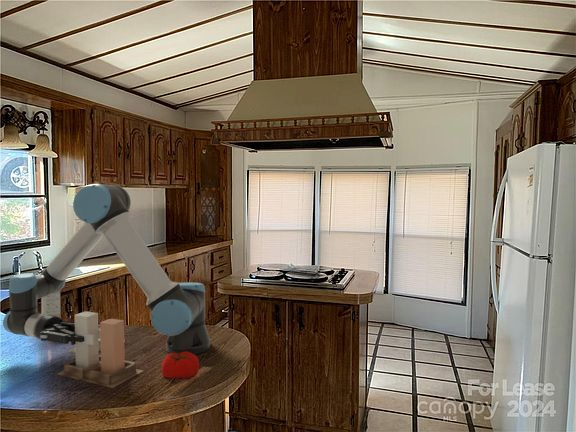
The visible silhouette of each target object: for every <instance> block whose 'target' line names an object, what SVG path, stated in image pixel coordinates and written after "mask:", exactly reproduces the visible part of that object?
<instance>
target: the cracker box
mask: <svg viewBox="0 0 576 432" xmlns="http://www.w3.org/2000/svg"><path fill="white" fill-rule="evenodd" d="M40 300H41V302H40V303H41V314H47V315H52V316H57V317H60V318H61V319H62V317H61V316H62V315H61V290H59V291H58V292H56V293H53V294H50V295H47V296H44V297H42V298H40Z"/></svg>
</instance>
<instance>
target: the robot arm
mask: <svg viewBox="0 0 576 432" xmlns="http://www.w3.org/2000/svg"><path fill="white" fill-rule="evenodd" d="M72 204H73V205H72V206H73V207H72V208H73V211H74V214H75V215H76V216H77V218H78V219H79V220H81V221H82V222H84V223H83V224H82V225H81V227H80V228H78V230H77V231H76V233H75V234H74V235H73V236H72V237H71V238H70V240H69V241H68V242H67V243H66V244H65V245H64V246H63V248H62V249H61V250H60V251H59V252H58V253H57V255H56V256H55V257H54V258H53V259H52V261H51V262H50V263H49V264H48V265H47V267H45V269H44V270H43V271H42V273H41V274H39V275H36V274H34V273H19V274H15V275H12V276H10V278H9V286H8V294H9V311H8V312H7V313H6V314H5V316H4V318H3V320H2V326H3V328H4V330H5V331H7V332H9V333H12V334H14V335H16V336H17V335H19V336H24V337H31V338H35V339H37V340H40V341H41V342H51V343H57V344H62V345H63V344H64V345H68V344H69V343H71V346H75V344H76V342H80V343H85V344H90V345H95V335H91V334H86V333H81V332H78V333H76V335H75V322H68V321H63V319H62V317H61V318H60V317H57V316H52V315H47V314H42V312H41V313H40V312H38V300H39V299H40V300H41V298H42V297H44V296H47V295H50V294H53V293H56V292H58V291H59V290H60V291H61V290H62V289H63V288H64V287H65V285H66V281H67V279H68V278H69V277H70V275H71V274H72V273H73V272H74V271H75V269H77V267H78V266H79V265H80V264H81V263H82V262H83V261H84V259H85V257H87V256H88V254H90V252H91V251H92V250H93V249H94V247H95V246H96V245H97V244H98V243H99V242H100V241H101V239H103V237H105V238H106V240H107V241H108V242H109V244H110V245H111V247H112V248H113V250H114V252H115V253H116V254H117V256H118V257H119V258H120V260H121V261H122V262H123V264H124V265H125V267H126V269H127V270H128V271H129V273H130V275H132V276H131V277H133V279H134V281H136V283H137V285H138V286H139V287H140V289H141V290H142V291H143V293H144V294H145V297H146V298H147V299H146V304H145V305H146V307H147V308H148V310H149V311H150V312H151V314H150V320H151V324H152V326H153V328H154V330H155V331H157V332H158V333H159V334H161V335H164V336H167V339H166V342H165V343H166V344H165V345H166V347H165V349H166V352H167V353H169V354H171V353H178V354H179V353H182V352H185V351H187V352H190V353H192V354H194V355H198V354H201V353H204V352H206V351H208V350H209V349H210V348H211V339H210V335H209V332H208V329H207V327H206V288H205V284H203V283H201V282H176V281H172V280H171V279H170V277H169V276H168V275H167V273H166V272H165V271H164V269H163V267H162V266H161V265H160V262H159V261H158V260H157V259H156V258H155V255H154V254H153V253H152V252H151V250H150V249H149V247H148V246H147V244H146V243H145V241H144V240H143V238H142V237H141V236H140V235H139V233H138V231H137V230H136V229H135V226H133V224H132V223H131V222H130V216H131V213H130V209H131V196H130V194H129V193H128V192H127V190H126V189H124V188H123V187H122V186H119V184H118V185H116V184H101V183H93V184H88V185H85V186H83V187H81V188H79V190H78V191H77V192H76V194H75V195H74V198H73V203H72ZM98 336H99V339H101V338H100V328H98Z"/></svg>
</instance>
